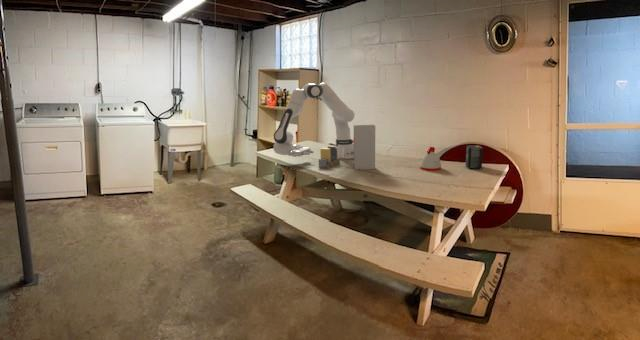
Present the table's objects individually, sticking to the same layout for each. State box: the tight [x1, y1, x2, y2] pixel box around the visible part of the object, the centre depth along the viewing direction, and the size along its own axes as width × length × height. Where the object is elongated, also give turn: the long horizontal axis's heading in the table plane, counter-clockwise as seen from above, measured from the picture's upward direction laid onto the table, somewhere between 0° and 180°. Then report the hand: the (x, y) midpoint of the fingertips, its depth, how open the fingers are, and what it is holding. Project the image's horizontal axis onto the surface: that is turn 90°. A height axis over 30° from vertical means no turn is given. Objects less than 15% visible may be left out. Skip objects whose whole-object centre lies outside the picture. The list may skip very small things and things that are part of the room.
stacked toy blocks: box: [314, 145, 341, 169], centre depth 299 cm, size 21×10×13 cm, turn 155°
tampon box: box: [465, 144, 484, 170], centre depth 284 cm, size 11×9×15 cm
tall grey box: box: [353, 124, 376, 171], centre depth 287 cm, size 14×6×30 cm, turn 92°
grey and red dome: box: [419, 146, 442, 172], centre depth 284 cm, size 14×14×15 cm
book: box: [320, 147, 331, 163], centre depth 299 cm, size 4×6×12 cm, turn 65°
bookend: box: [318, 157, 328, 169], centre depth 292 cm, size 3×6×6 cm, turn 65°
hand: (311, 153), depth 304 cm, fingers open, 6 cm apart
